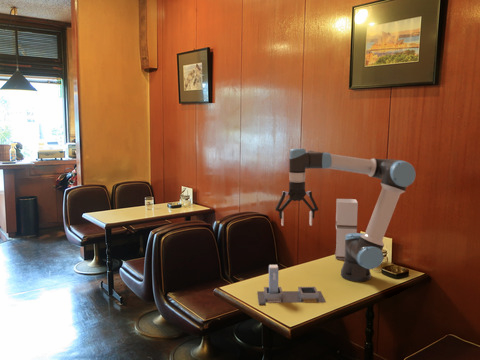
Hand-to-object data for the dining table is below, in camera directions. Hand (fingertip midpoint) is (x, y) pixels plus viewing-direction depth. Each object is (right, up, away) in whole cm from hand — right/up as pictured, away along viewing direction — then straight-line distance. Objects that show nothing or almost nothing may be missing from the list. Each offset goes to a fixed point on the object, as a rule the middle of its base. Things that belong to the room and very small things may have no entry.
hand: (296, 225), depth 185 cm
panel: (-4, -33, -8) cm, 34 cm away
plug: (-12, -32, -8) cm, 35 cm away
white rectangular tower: (+37, -26, +50) cm, 67 cm away
